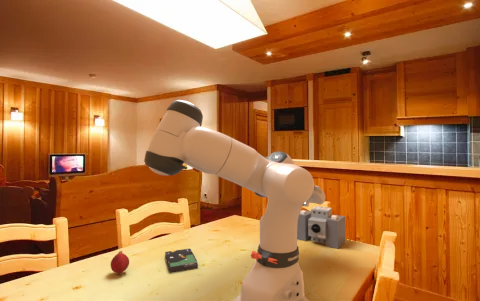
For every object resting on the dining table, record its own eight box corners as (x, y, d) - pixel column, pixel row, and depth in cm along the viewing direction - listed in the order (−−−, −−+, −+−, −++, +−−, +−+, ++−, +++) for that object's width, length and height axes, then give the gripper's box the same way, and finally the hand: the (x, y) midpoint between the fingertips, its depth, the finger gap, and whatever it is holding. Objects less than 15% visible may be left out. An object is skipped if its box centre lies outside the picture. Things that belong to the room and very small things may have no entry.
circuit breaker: (307, 245, 116) (307, 211, 116) (316, 236, 128) (316, 205, 128) (324, 248, 112) (324, 214, 112) (332, 239, 124) (331, 207, 124)
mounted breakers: (337, 248, 111) (337, 218, 111) (295, 238, 124) (295, 211, 124) (345, 242, 119) (345, 213, 119) (304, 233, 132) (304, 207, 132)
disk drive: (164, 258, 104) (169, 274, 90) (164, 251, 104) (169, 266, 90) (190, 254, 107) (198, 269, 94) (190, 247, 108) (198, 261, 94)
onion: (117, 279, 86) (117, 255, 86) (107, 275, 88) (106, 252, 88) (132, 272, 91) (132, 249, 91) (122, 268, 94) (121, 246, 93)
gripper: (321, 179, 95) (332, 201, 102) (274, 176, 108) (286, 196, 116) (316, 193, 91) (328, 214, 99) (268, 189, 105) (281, 208, 112)
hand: (305, 204), depth 107 cm, fingers closed
